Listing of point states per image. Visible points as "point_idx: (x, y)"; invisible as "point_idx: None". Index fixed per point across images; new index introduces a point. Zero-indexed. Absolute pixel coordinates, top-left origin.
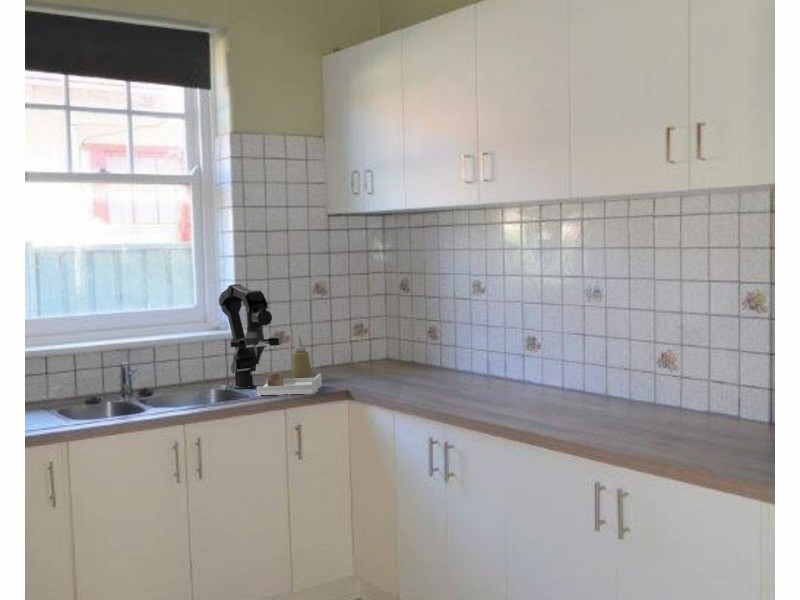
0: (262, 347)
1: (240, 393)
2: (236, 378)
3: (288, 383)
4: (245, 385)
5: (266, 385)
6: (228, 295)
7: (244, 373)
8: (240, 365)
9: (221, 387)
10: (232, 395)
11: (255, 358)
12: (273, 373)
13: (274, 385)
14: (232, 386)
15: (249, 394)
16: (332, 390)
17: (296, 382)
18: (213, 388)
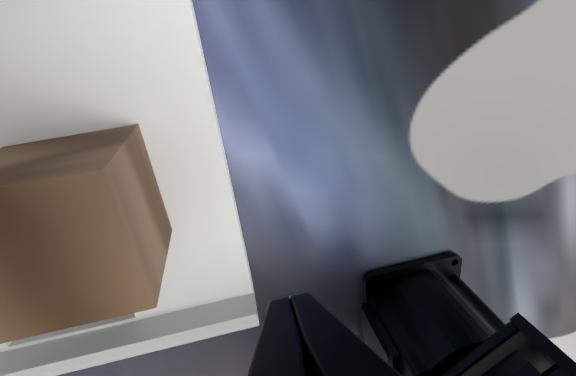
0: None
1: (384, 113)
2: (487, 313)
3: (75, 329)
4: (402, 283)
5: (216, 234)
6: None
7: (451, 346)
8: (536, 371)
9: (533, 285)
10: (426, 32)
11: (344, 373)
12: (80, 276)
13: (61, 142)
14: None
15: (298, 68)
16: None
17: (6, 351)
18: (571, 260)
